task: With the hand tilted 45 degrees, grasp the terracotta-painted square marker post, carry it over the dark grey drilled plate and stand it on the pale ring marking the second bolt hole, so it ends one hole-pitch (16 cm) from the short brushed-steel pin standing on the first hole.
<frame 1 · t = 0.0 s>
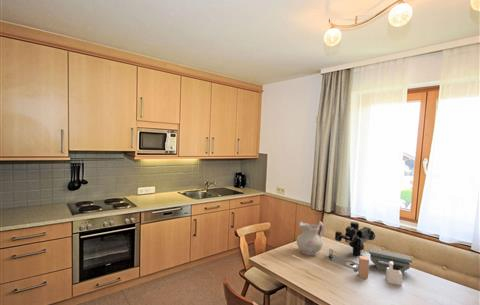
hand: (342, 241, 173), 17 cm above the table, tool horizontal, fingers open, 9 cm apart
drilled plate: (343, 262, 176), on the table
ceramic pitcher: (309, 253, 191), on the table
marker post: (363, 276, 159), on the table
steel pin: (330, 256, 184), resting on drilled plate
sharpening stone: (388, 269, 170), on the table
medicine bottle: (393, 281, 154), on the table
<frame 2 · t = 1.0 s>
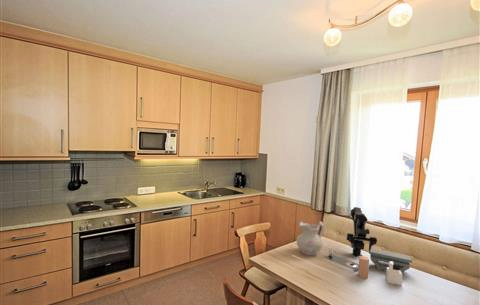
hand: (362, 250, 166), 14 cm above the table, tool tilted 45°, fingers open, 9 cm apart
nothing on the table moved.
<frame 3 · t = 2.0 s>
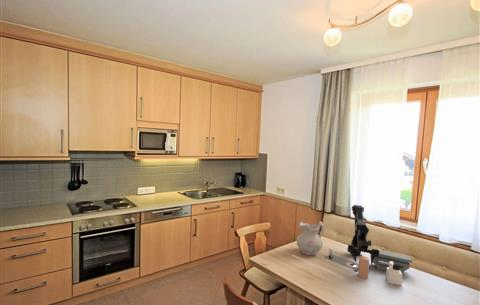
hand: (363, 263, 159), 8 cm above the table, tool tilted 45°, fingers open, 9 cm apart
nothing on the table moved.
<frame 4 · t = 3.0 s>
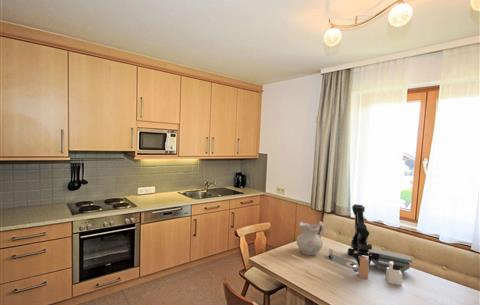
hand: (364, 267, 157), 7 cm above the table, tool tilted 45°, fingers closed on marker post, 5 cm apart
marker post: (363, 276, 159), on the table, touching gripper
everything else where it was.
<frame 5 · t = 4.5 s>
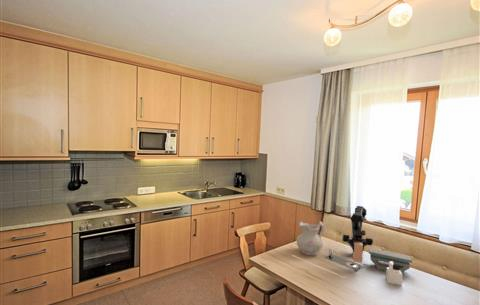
hand: (358, 252, 165), 13 cm above the table, tool tilted 45°, fingers closed on marker post, 5 cm apart
marker post: (357, 260, 167), point 6 cm above the table, touching gripper
everything else where it was.
when the fingers open (9 cm above the table, at t = 6.1 s): marker post stays where it is, resting on drilled plate.
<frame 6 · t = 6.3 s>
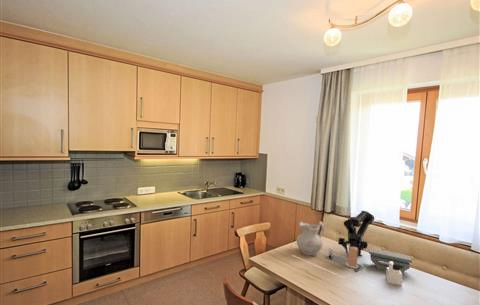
hand: (352, 254, 171), 9 cm above the table, tool tilted 45°, fingers open, 7 cm apart
marker post: (352, 264, 172), point 1 cm above the table, touching drilled plate
everything else where it was.
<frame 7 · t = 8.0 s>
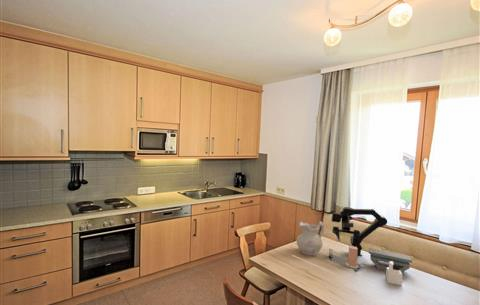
hand: (345, 242, 180), 14 cm above the table, tool tilted 45°, fingers open, 9 cm apart
nothing on the table moved.
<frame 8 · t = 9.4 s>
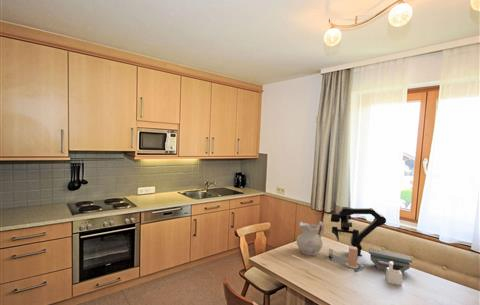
hand: (345, 242, 181), 14 cm above the table, tool tilted 45°, fingers open, 9 cm apart
nothing on the table moved.
at the end: marker post 0.0 cm from the target spot, point 1.1 cm above the table; marker post tilted 0°; the gripper is holding nothing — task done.
